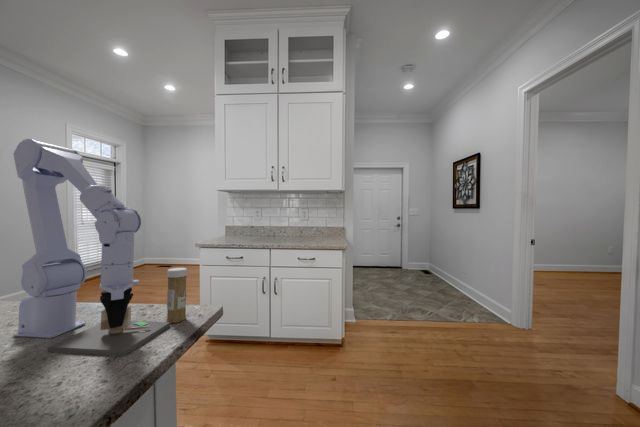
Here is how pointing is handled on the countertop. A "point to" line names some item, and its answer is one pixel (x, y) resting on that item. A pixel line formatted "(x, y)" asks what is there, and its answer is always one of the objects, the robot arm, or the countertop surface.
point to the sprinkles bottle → (176, 295)
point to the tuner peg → (119, 329)
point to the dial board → (109, 340)
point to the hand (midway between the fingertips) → (116, 324)
